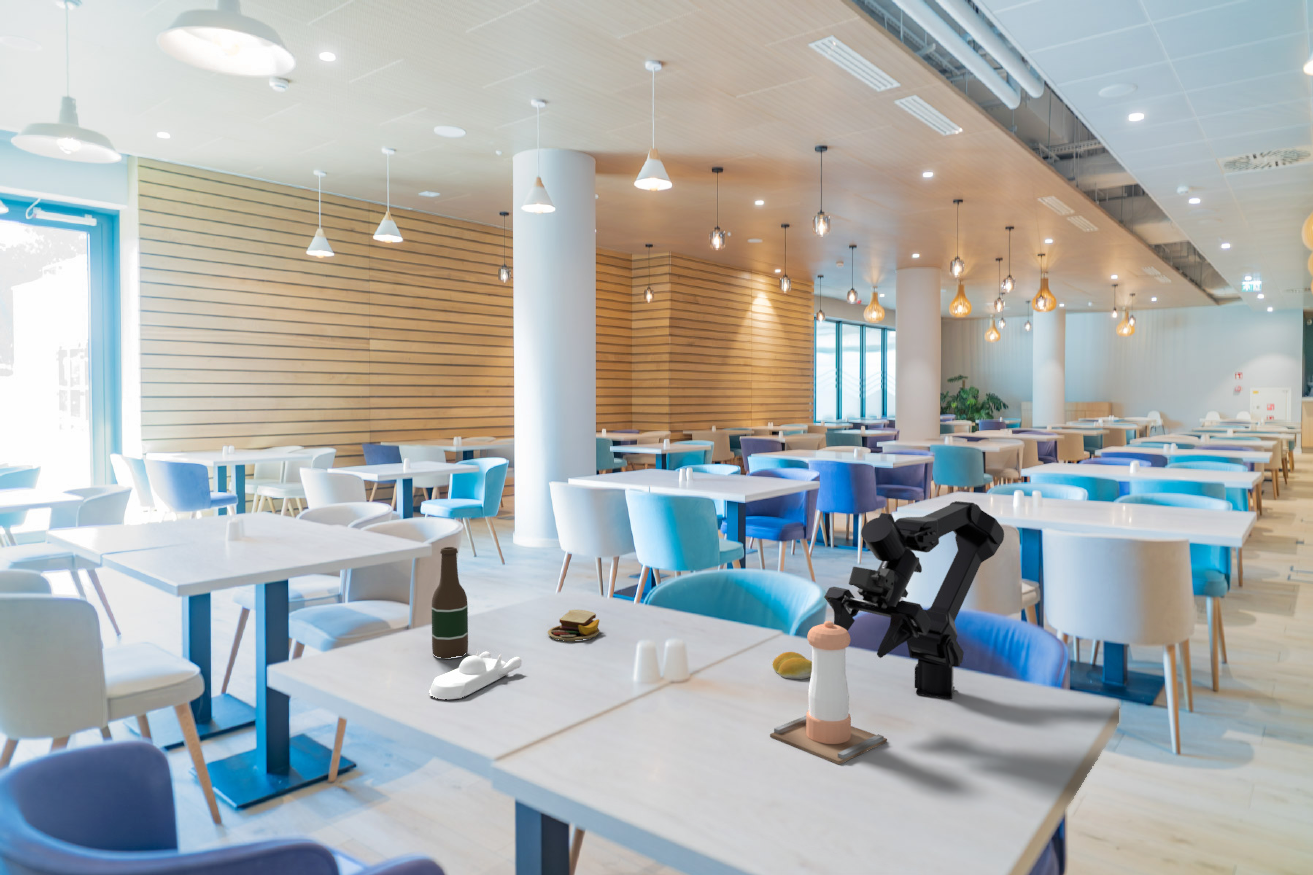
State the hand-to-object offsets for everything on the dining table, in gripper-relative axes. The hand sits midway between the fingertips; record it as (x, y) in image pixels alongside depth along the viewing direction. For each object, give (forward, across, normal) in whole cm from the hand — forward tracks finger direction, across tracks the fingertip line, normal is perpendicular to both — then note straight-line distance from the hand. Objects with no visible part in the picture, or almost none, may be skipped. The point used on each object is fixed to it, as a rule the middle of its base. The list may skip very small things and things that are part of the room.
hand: (855, 649), depth 140 cm
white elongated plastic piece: (+37, -64, -18) cm, 76 cm away
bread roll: (-1, -26, +20) cm, 33 cm away
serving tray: (+15, 0, +4) cm, 15 cm away
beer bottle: (+33, -84, -14) cm, 92 cm away
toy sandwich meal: (+12, -79, +8) cm, 81 cm away
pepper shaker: (+14, 0, +4) cm, 15 cm away
